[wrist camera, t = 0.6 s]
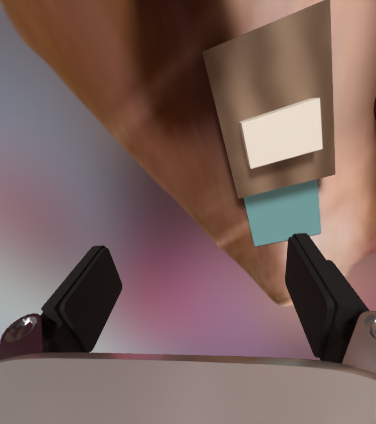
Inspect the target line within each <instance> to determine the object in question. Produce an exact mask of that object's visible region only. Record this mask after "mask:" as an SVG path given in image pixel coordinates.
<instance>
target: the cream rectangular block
mask: <svg viewBox="0 0 376 424" xmlns="http://www.w3.org/2000/svg"><path fill="white" fill-rule="evenodd" d="M239 124H240V128H241V133H242V138H243V143H244V148H245V153H246V158H247V163H248V165H249V167H250V169H252V168H256V167H259V166H263V165H267V164H270V163H274V162H277V161H281V160H285V159H288V158H292V157H295V156H299V155H303V154H306V153H310V152H313V151H317V150H320V149H323V145H322V126H321V108H320V98H310V99H307V100H304V101H301V102H298V103H295V104H292V105H289V106H286V107H283V108H280V109H277V110H274V111H271V112H268V113H265V114H262V115H259V116H256V117H253V118H250V119H247V120H244V121H241V122H239Z"/></svg>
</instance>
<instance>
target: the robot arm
mask: <svg viewBox="0 0 376 424" xmlns="http://www.w3.org/2000/svg"><path fill="white" fill-rule="evenodd" d="M285 283H286V287H287V289H288V292H289V294H290V297H291V299H292V302H293V304H294V307H295V309H296V312H297V314H298V317H299V319H300V322H301V324H302V327H303V329H304V332H305V334H306V337H307V339H308V342H309V344H310V347H311V349H312V352H313V354H314V356H315V357H319V358H320V360H321V361H319V360H308V359H290V358H270V357H244V356H242V357H241V356H210V355H209V356H208V355H172V354H131V353H89V352H91V351H92V350H93V348H94V346H95V344H96V342H97V340H98V338H99V336H100V334H101V332H102V330H103V328H104V326H105V324H106V322H107V320H108V317H109V315H110V313H111V311H112V309H113V307H114V305H115V303H116V301H117V299H118V297H119V295H120V293H121V290H122V283H121V280H120V278H119V275H118V272H117V270H116V267H115V265H114V262H113V259H112V257H111V254H110V252H109V249H108V248H106V247H105V246H94V247H92V248H91V249H90V250H89V251H88V252H87V254H86V255H85V256H84V258H83V259H82V260H81V261H80V262H79V263H78V265H77V266H76V267H75V268H74V269H73V271H72V272H71V273H70V274H69V275H68V277H67V278H66V279H65V280H64V281H63V283H62V284H61V285H60V286H59V287H58V289H57V290H56V291H55V292H54V294H53V295H52V296H51V297H50V298H49V300H48V301H47V302H46V303H45V304H44V306H43V307H42V308H41V309H42V311H43V313H42V314H41V315H39V314H35V313H33V314H28V315H26V316H23V317H21V318H20V319H18V320H16V321H15V322H14V323H12V324H11V325H10V326H9V327H8V328H7V329H6V330H5V332H4V333H3V335H2V337H1V339H0V424H376V311H369V309H368V308H367V307H366V305H365V304H364V303H363V302H362V300H361V299H360V297H359V296H358V295H357V293H356V292H355V291H354V289H353V288H352V287H351V285H350V284H349V283H348V281H347V280H346V279H345V277H344V276H343V275H342V273H341V272H340V271H339V269H338V268H337V267H336V265H335V264H334V263H333V262H332V261H330V260H326V259H325V258H324V256H323V255H322V253H321V252H320V251H319V249H318V248H317V246H316V245H315V244H314V242H313V241H312V239H311V238H310V237H309V235H308V234H307V233H298V234H293V235H292V237H289V238H288V249H287V261H286V274H285Z"/></svg>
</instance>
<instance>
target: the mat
mask: <svg viewBox="0 0 376 424" xmlns="http://www.w3.org/2000/svg"><path fill="white" fill-rule="evenodd" d="M243 198H244V202H245V207H246V211H247V216H248V220H249V224H250V229H251V233H252V237H253V242H254V246H260V245H265V244H270V243H275V242H280V241H285V240H288V238H289V237H292V235H293V234H298V233H307V234H308V235H309V236H311V235H316V234H321V226H320V212H319V197H318V182H317V179H315V180H311V181H307V182H303V183H299V184H295V185H291V186H287V187H283V188H279V189H275V190H271V191H267V192H263V193H259V194H255V195H251V196H247V197H243Z"/></svg>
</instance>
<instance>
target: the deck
mask: <svg viewBox="0 0 376 424" xmlns="http://www.w3.org/2000/svg"><path fill="white" fill-rule="evenodd" d="M203 58H204V62H205V66H206V70H207V74H208V78H209V83H210V87H211V91H212V95H213V99H214V103H215V107H216V111H217V115H218V120H219V124H220V128H221V132H222V136H223V140H224V144H225V148H226V153H227V157H228V161H229V165H230V169H231V173H232V177H233V181H234V186H235V190H236V193H237V197H238V199H239V198H243V197H247V196H251V195H255V194H259V193H263V192H267V191H271V190H275V189H279V188H283V187H287V186H291V185H295V184H299V183H303V182H307V181H311V180H315V179H319V178H323V177H327V176H331V175H335V149H334V116H333V83H332V50H331V17H330V0H324V1H322V2H319V3H317V4H315V5H312V6H310V7H307V8H305V9H303V10H300V11H298V12H296V13H293V14H291V15H288V16H286V17H284V18H281V19H279V20H277V21H274V22H272V23H269V24H267V25H265V26H262V27H260V28H258V29H255V30H253V31H250V32H248V33H246V34H243V35H241V36H239V37H236V38H234V39H231V40H229V41H227V42H224V43H222V44H220V45H217V46H215V47H212V48H210V49H208V50H205V51H203ZM310 98H320V108H321V126H322V145H323V149H320V150H317V151H313V152H310V153H306V154H303V155H299V156H295V157H292V158H288V159H285V160H281V161H277V162H274V163H270V164H267V165H263V166H259V167H256V168H252V169H250V167H249V165H248V163H247V158H246V153H245V148H244V143H243V138H242V133H241V128H240V124H239V122H241V121H244V120H247V119H250V118H253V117H256V116H259V115H262V114H265V113H268V112H271V111H274V110H277V109H280V108H283V107H286V106H289V105H292V104H295V103H298V102H301V101H304V100H307V99H310Z"/></svg>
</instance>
